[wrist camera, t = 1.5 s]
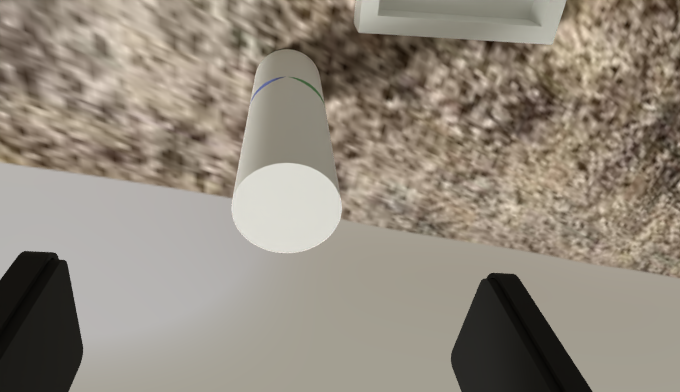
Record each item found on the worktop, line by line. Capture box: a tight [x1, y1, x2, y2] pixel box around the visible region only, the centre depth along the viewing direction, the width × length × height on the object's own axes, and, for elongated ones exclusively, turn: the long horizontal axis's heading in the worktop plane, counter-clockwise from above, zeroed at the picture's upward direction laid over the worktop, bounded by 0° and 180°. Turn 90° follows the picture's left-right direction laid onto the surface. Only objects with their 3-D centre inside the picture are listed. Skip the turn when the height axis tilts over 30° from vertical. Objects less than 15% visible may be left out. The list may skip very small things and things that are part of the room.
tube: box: [231, 49, 342, 253], centre depth 24 cm, size 4×4×15 cm
